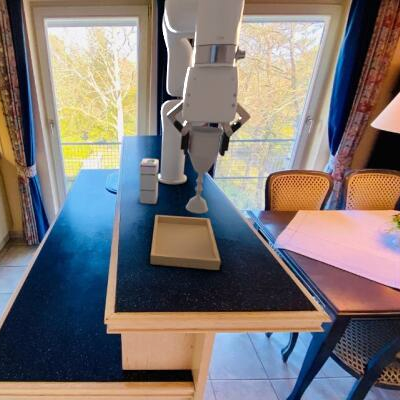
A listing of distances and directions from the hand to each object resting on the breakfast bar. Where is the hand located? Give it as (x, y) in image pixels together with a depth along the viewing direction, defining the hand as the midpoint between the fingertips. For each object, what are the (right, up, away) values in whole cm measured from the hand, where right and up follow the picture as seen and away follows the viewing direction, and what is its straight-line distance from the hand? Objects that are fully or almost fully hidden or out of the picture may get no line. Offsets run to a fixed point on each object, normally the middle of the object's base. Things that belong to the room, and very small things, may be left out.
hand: (203, 153), depth 56 cm
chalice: (0, -12, +6) cm, 13 cm away
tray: (-1, -21, +14) cm, 26 cm away
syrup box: (-9, -10, +38) cm, 40 cm away
